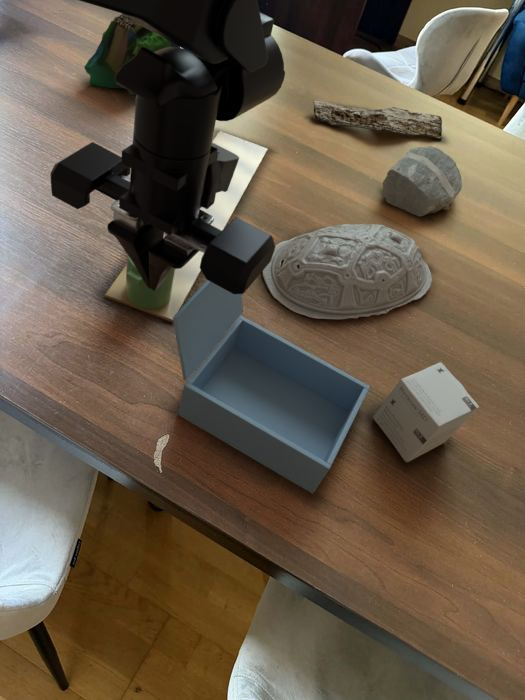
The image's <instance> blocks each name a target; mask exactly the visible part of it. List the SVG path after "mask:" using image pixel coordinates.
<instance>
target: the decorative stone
mask: <svg viewBox="0 0 525 700" xmlns="http://www.w3.org/2000/svg"><path fill="white" fill-rule="evenodd" d="M462 187H463V180H462V175H461V171H460V169H459V168H458V165H457V163H456V161H455V160H454V159H453V158H452V157H451V156H450V155H448V154H446V153H445V152H444V151H443V150H441V149H440V148H437V147H436V146H432V145H429V146H428V145H427V146H419V147H416V148H411V149H409V150H407V152H406V153H405V154H404V156H403V157H402V158H400V159H399V160H398V161H397V162H396V163H395V164H393V165H392V166H391V168H390V169H388V171H387V174H386V176H385V178H384V180H383V181H382V196H383V197H384V198H385V202H386V203H387V204H390V205H391V206H394V207H396V208H398V209H400V210H403V211H405V212H407V213H409V214H411V215H413V216H417V217H419V218H422V217H425V216H426V215H428V214H436V213H439V212H440V211H441V210H442V211H443V210H444V211H447V210H450V209H451V206H450V204H451V203H452V202H453V201H454V200H456V198H457V196H458V195H459V194H460V192H461V191H462Z"/></svg>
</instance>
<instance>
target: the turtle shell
mask: <svg viewBox="0 0 525 700" xmlns="http://www.w3.org/2000/svg"><path fill="white" fill-rule="evenodd" d="M275 246H276V247H275V250H274V253H273V256H272V259H271V261H270V263H269V264H268V265H267V266H266V267H265V269H264V270H263V271H262V278H263V280H264V283H265V284H266V287H267V289H268V290H269V292H270V295H271V296H272V297H273V298H274V299H275V300H276V301H278V303H280V304H281V305H283V306H284V307H285V308H287V309H288V310H290V311H292V312H294V313H296V314H299V315H302V316H305V317H308V318H312V319H316V320H317V319H318V320H322V319H323V320H348V319H359V317H360V318H361V317H370V316H379V315H381V314H387V313H389V311H391V310H393V309H395V308H398V307H399V308H400V307H402V306H405V305H408V303H411V302H412V301H416V300H419V299H421V298H422V297H423V296H424V295H426V294H427V292H428V291H429V290H430V288H431V286H432V281H433V279H432V273H431V270H430V268H429V265H428V264H427V263H426V262H425V261H424V260H423V257H422V254H421V248H420V246H419V245H417V244H416V242H415V240H414V239H413V238H411V237H410V236H408V235H406V234H404V233H402V232H400V231H398V230H395V229H393V228H390V227H388V226H386V225H385V224H376V223H360V224H359V223H357V224H356V223H355V224H352V223H351V224H350V223H344V224H336V225H331V226H328V227H327V226H326V227H322V228H320V229H317V230H314V231H311V232H306V233H302V234H299V235H298V236H294V237H292V238H291V239H287V240H284V241H280V242H279V243H277V244H275Z"/></svg>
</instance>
